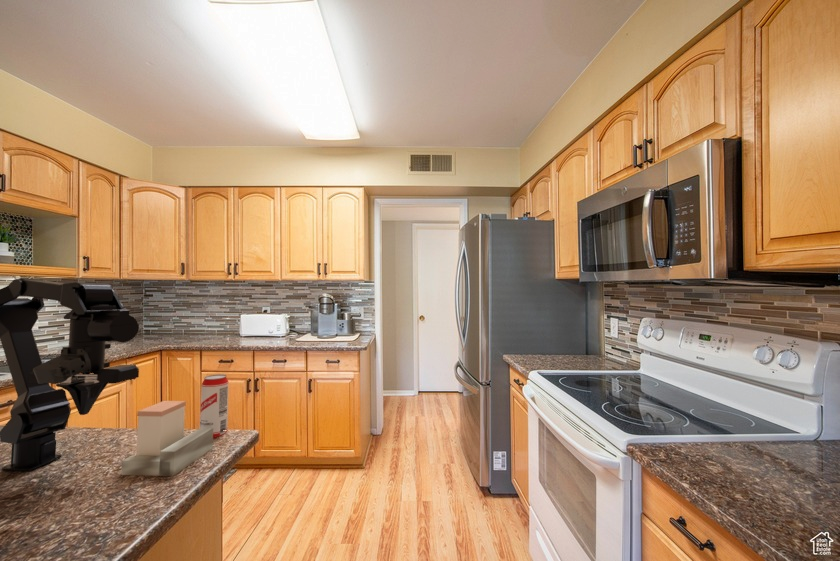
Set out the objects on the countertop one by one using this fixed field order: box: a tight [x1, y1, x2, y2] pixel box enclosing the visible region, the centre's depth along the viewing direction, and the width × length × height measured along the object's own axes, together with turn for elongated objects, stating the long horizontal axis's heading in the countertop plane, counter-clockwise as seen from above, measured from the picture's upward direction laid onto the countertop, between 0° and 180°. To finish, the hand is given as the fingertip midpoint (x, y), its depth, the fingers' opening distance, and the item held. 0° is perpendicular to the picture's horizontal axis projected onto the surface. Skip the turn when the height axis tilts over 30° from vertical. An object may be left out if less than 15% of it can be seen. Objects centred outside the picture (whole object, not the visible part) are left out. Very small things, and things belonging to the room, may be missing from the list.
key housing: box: [120, 427, 214, 477], centre depth 75 cm, size 16×18×6 cm
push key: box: [136, 400, 187, 456], centre depth 75 cm, size 5×7×12 cm
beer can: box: [199, 373, 230, 438], centre depth 90 cm, size 6×6×16 cm
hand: (84, 414), depth 73 cm, fingers closed
